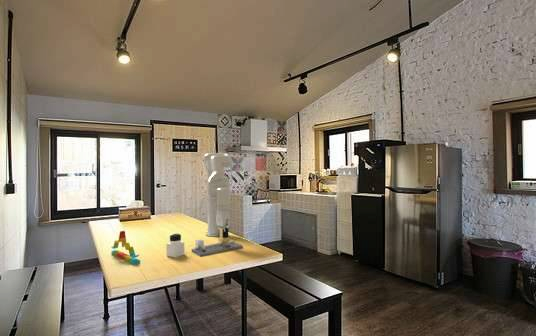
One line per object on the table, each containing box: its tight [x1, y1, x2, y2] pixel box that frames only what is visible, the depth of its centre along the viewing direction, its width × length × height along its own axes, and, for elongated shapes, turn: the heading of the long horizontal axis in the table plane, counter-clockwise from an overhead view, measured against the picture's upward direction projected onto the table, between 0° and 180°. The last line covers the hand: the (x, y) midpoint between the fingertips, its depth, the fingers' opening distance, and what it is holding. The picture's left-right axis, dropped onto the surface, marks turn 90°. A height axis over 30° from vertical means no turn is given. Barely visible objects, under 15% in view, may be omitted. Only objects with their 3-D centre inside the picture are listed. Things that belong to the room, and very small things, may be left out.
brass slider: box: [217, 227, 230, 246], centre depth 187 cm, size 9×5×10 cm, turn 37°
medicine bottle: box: [165, 233, 186, 258], centre depth 172 cm, size 7×7×12 cm
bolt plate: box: [191, 239, 244, 257], centre depth 182 cm, size 12×28×6 cm, turn 127°
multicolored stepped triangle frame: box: [111, 230, 141, 265], centre depth 168 cm, size 30×3×15 cm, turn 48°
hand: (223, 236), depth 188 cm, fingers open, 5 cm apart
